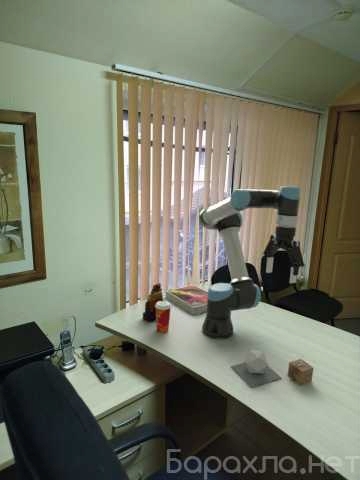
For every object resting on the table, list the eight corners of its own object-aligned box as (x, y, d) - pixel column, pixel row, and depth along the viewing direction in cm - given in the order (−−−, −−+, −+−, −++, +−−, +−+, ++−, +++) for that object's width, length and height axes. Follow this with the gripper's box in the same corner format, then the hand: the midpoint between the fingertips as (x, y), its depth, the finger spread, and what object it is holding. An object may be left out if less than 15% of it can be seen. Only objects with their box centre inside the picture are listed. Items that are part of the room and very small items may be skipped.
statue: (156, 312, 163) (157, 278, 159) (164, 318, 157) (166, 282, 153) (137, 318, 155) (137, 282, 151) (145, 324, 149) (146, 287, 146)
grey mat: (230, 367, 118) (230, 366, 118) (259, 359, 124) (259, 358, 123) (251, 388, 106) (251, 386, 106) (281, 378, 112) (281, 377, 112)
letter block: (287, 376, 114) (289, 361, 113) (299, 372, 116) (300, 358, 115) (299, 386, 109) (301, 371, 107) (311, 381, 111) (313, 367, 110)
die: (261, 383, 109) (275, 360, 110) (241, 369, 110) (255, 346, 111) (256, 376, 117) (269, 355, 118) (238, 363, 118) (251, 343, 120)
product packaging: (193, 315, 162) (194, 307, 161) (165, 298, 184) (165, 290, 184) (222, 307, 175) (223, 299, 174) (192, 291, 197) (193, 284, 196)
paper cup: (154, 326, 148) (155, 300, 145) (170, 326, 148) (170, 300, 146) (154, 334, 140) (155, 307, 137) (170, 334, 141) (171, 307, 138)
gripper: (257, 221, 127) (253, 269, 131) (303, 231, 104) (296, 288, 109) (271, 221, 130) (266, 267, 134) (319, 231, 107) (311, 286, 112)
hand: (280, 277), depth 121 cm, fingers open, 13 cm apart
